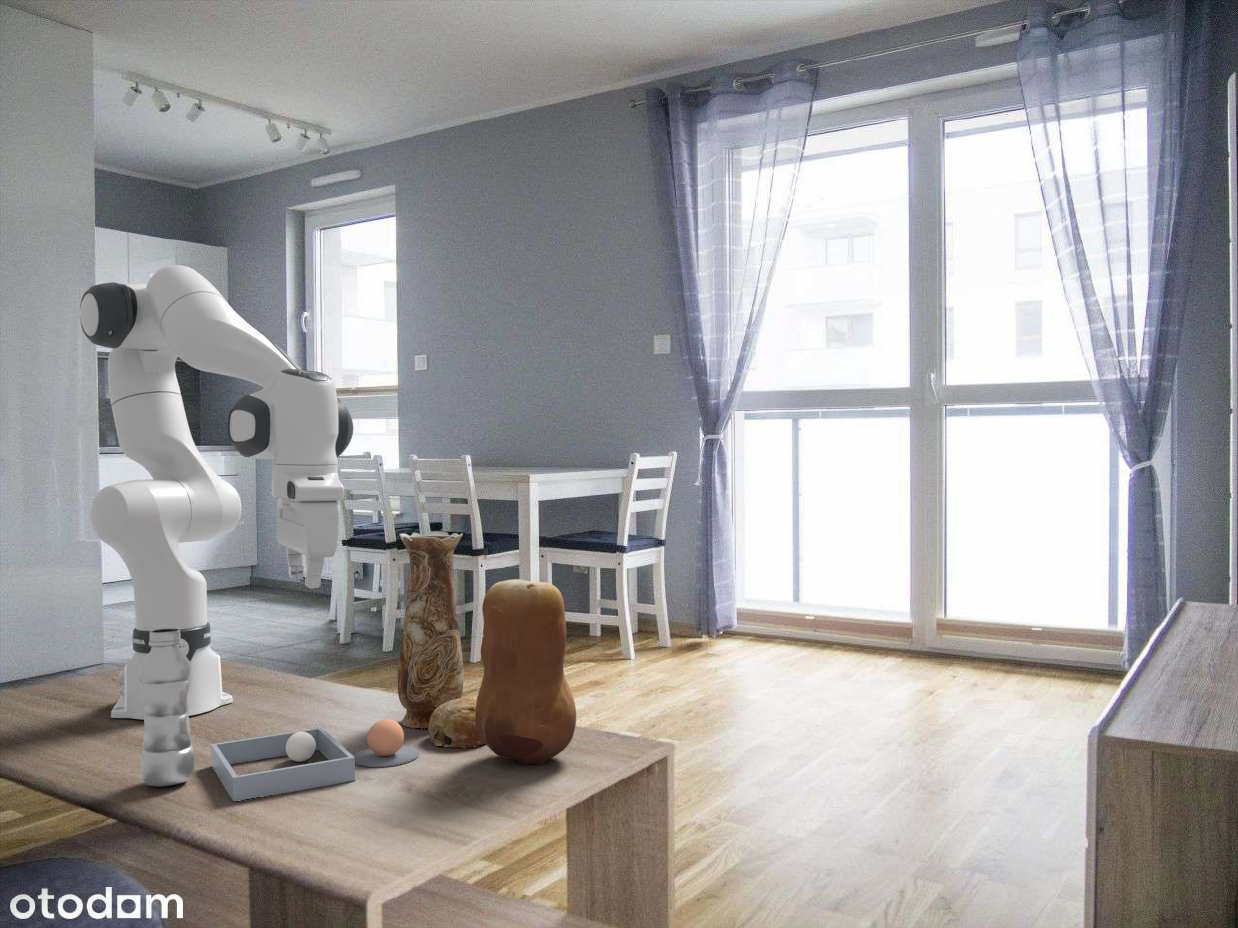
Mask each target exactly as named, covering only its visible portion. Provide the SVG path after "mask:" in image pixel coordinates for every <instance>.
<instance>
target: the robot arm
mask: <svg viewBox="0 0 1238 928" xmlns="http://www.w3.org/2000/svg"><path fill="white" fill-rule="evenodd" d="M79 321H80V326H81V330H82V332H83V334H84V336H85V337H86V338H87V339H88V341H90V343H92V344H93V345H96V346H99V347H102V348H108V349H111V350H110V352H109V355H108V356H107V381H108V382H107V383H108V385H107V386H108V394H109V400H110V406H111V410H112V415H113V420H114V426H115V431H116V435H117V440H118V446H119V448H120V451H121V452H123V454H124V456H126V457H127V458H128V459H130V460H132V461H133V462H136V463H137V464H139V465H140V466H142V467H143V468H144V469H145V470H146V471H147V472H148V473H149V474H150V476H151V478H152V479H132V480H127V481H123V482H118V483H114V484H112V485H107V486H105V487H103V488H102V489H100V490H99V491H98V492H97V494H96V496H95V497H94V499H93V501H92V503H91V506H90V514H89V516H90V523H91V526H92V529H93V531H94V532H95V534H96V536H97V537H98V538H99V539H100V540H101V541H102V542H103V543H105V544H106V545H108V546H109V547H111V548H112V549H113V550H114V551H115V552H116V553H117V555H119V557H120V558H121V560H122V561H123V562H124V564H125V566H126V568H127V570H128V573H129V574H130V577H131V578H130V579H131V584H132V587H133V597H134V600H133V601H134V611H135V613H134V615H135V617H134V619H135V627H134V629H132V637H131V641H132V650H133V651H134V653H133V656H132V657H131V658H130V660H128V661H127V664H125V665H124V669H122V670H121V671H120V672H119V677H118V678H119V679H118V682H119V684H118V685H119V686H124V687H123V688H121V690H120V697H119V698H118V700H117V702H116V703H115V705H114V706H113V708H112V709H111V712H110V718H112V719H114V718H115V719H135V720H144V712H143V700H142V695H141V689H140V684H139V682H140V681H139V676H138V672H139V669H140V666H141V664H142V663H143V661H144V659H145V658H146V656H147V655H148V654H149V652H150V651H151V648H152V646H149V642H150V631H152V630H156V629H163V628H178V629H180V639H181V644H179V648H180V650H181V651H182V652H183V653H184V654H185V655H186V657H187V658H188V660H189V661H190V663H191V666H192V676H191V678H192V679H191V687H190V695H189V709H188V712H189V717H190V716H195V715H199V714H203V713H206V712H210V711H212V710H214V709H216V708H218V707H221V706H224V705H227V704H230V703H233V702H234V700H233V695H231V694H229V693H226V692H224V691H223V684H222V683H223V682H222V681H223V679H222V668H221V667H222V666H221V656H220V655H219V654H218V653H216V652H215V651H214V650H213V649H212V648H211V646H210V644H211V643H212V642H211V639H212V638H211V636H212V629H211V624H210V623H209V622H208V595H207V593H208V591H207V590H208V589H207V588H208V585H207V580H206V579H205V577H204V575H203V574H202V573H201V572H200V571H199V570H198V569H195V568H194V567H192V566H189V565H187V564H186V562H185V560H184V559H183V558H182V556H181V551H180V547H179V544H181V543H190V542H202V541H209V540H212V539H215V538H218V537H221V536H224V535H227V534H229V533H231V532H232V531H234V530H235V528H236V527H237V526H238V524H239V522H240V519H241V516H242V511H243V509H242V508H243V507H242V501H241V496H240V495H239V493H238V491H237V489H236V488H235V487H234V486H233V485H232V484H231V483H229V482H228V481H226V480H225V479H223V478H222V477H220V476H219V474H217V473H216V472H215V471H214V470H213V469H212V468H211V467H210V465H209V464H208V463H207V461H206V460H205V458H204V457H203V456H202V454H201V452H200V451H199V450H198V448H197V446H196V444H195V441H194V440H193V437H192V433H191V431H190V426H189V421H188V418H187V415H186V411H185V405H184V401H183V396H182V394H181V393H182V392H181V388H180V385H179V382H178V377H177V374H176V366H175V365H176V361H177V359H178V358H180V360H181V361H183V362H184V363H186V365H188V366H190V367H192V368H193V369H196V370H199V371H202V372H206V373H211V374H216V375H217V374H218V375H222V376H227V377H232V378H233V377H234V378H235V379H241V380H244V381H248V382H251V383H252V384H253V383H254V384H256V385H259V386H260V387H262V389H261V390H258V391H255V392H254V393H251V394H245V395H243V396H241V397H240V398H239V399H238V400H237V401H236V402H235V403H234V404H233V406H232V407H231V409H230V411H229V414H228V417H227V434H228V438H229V441H230V443H231V445H232V446H233V448H234V449H235V450H236V451H237V452H238V454H240V455H241V456H243V458H244V457H245V458H250V459H254V460H272V467H271V469H272V470H271V473H272V474H271V476H272V477H271V496H272V498H277V499H278V500H277V507H276V525H275V527H276V529H275V534H276V535H275V537H276V541H277V544H280V545H282V546H284V547H285V554H286V560H287V565H288V577H289V578H290V579H293V580H298V579H300V580H301V579H302V578H304V585H305V587H306V588H308V589H318V588H320V587H321V584H322V581H321V580H322V573H323V569H324V565H325V558H332V557H334V556H335V555H336V552H337V548H338V544H339V543H338V542H339V534H340V533H339V532H340V531H339V530H340V518H341V517H340V516H341V507H340V503H339V502H342V501H343V500H344V498H345V488H344V487H345V486H344V485H343V483H342V481H340V478H339V460H338V457H340V456H341V455H342V454H343V453H344V452H345V451H346V449H347V448H348V447H349V445H350V443H351V441H352V438H353V435H354V422H353V418H352V416H351V413H350V412H349V409H348V408H347V406H346V404H344V402H342V400H341V399H340V398H339V397H338V393H337V389H336V385H335V382H334V379H333V378H332V377H330V376H329V375H328V374H326V373H324V372H319V371H315V370H307V369H302V368H301V367H300V366H299V365H298V364H297V363H296V362H295V361H294V360H293V359H292V358H291V357H290V355H288V354H287V353H286V352H285V351H284V350H283V349H282V348H281V347H280V346H279V345H278V344H276V343H275V342H273V341H272V340H271V339H270V338H268V337H267V336H265V335H263V334H262V333H261V332H259V330H257V329H256V328H254V327H253V326H252V325H251V324H250V323H248V321H246V320H245V319H244V318H243V317H242V316H241V315H239V314H238V313H237V312H236V311H235V310H234V309H233V307H232V306H231V305H230V304H229V302H228V301H227V300H226V299H225V297H224V296H223V295H222V294H221V292H220V291H218V289H217V288H216V287H215V286H214V285H213V284H212V283H211V282H210V281H209V280H208V279H207V278H206V277H205V276H203V275H202V274H200V273H199V272H198V271H197V270H195V269H193V268H192V267H189V266H186V265H179V264H176V265H168V266H165V267H163V268H160V269H159V270H157V271H156V272H155V273H154V274H152V276H151V277H150V279H149V280H148V282H147V283H143V282H142V283H140V282H139V283H138V282H137V283H120V282H119V283H118V282H113V281H112V282H104V283H99V284H95V285H92V286H89V288H88V289H87V290H86V291H85V292H84V294H83V295H82V298H81V300H80V305H79ZM303 556H305V564H306V572H305V573H306V574H304V565H303Z"/></svg>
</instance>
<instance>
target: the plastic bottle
mask: <svg viewBox="0 0 1238 928" xmlns="http://www.w3.org/2000/svg"><path fill="white" fill-rule="evenodd" d="M179 644H181V639H180V629H178V628H163V629H156V630H152V631H150V642H149V646H152V648H151V651H150V652H149V654H148V655H147V656H146V658H145V659H144V661H143V663H142V664H141V666H140V669H139V672H138V676H139V681H140V682H139V684H140V689H141V695H142V700H143V712H144V719H143V720H144V721H143V722H144V727H143V728H144V729H143V741H142V742H143V744H142V751H141V756H140V763H139V769H140V771H139V772H140V775H141V779H142V781H144V783H145V784H146V786H147V785H148V786H151V787H169V786H174V785H178V784H182V783H185V782H187V781H188V780H190V778H191V777H192V775H193V773H194V771H195V763H196V758H195V750H194V748H193V745H192V739H191V738H192V737H191V729H190V719H189V718H190V716H189V712H188V709H189V695H190V687H191V679H192V678H191V676H192V666H191V663H190V661H189V660H188V658H187V657H186V655H185V654H184V653H183V652H182V651H181V650H180V648H179Z"/></svg>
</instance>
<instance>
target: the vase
mask: <svg viewBox="0 0 1238 928" xmlns="http://www.w3.org/2000/svg"><path fill="white" fill-rule="evenodd" d="M463 535H464V534H463V533H460V534H458V533H456V532H455V533H452V534H450V535H449V533H448V532H447V531H444V530H443V531H442V530H441V531H439V530H438V531H437V530H436V531H428V532H426V533H425V534H423V535H422V534H421V533H418V532H413V533H412V534H410V535H409V534H407V533H400V534H399V537H400V540H401V541H402V543H403V545H404V547H405V549H406V551H407V553H408V556H409V575H408V586H407V587H408V588H407V594H406V595H407V596H406V603H405V604H406V605H405V612H404V618H403V626H402V633H401V634H402V635H401V641H400V646H399V647H400V649H399V655H398V662H397V695H398V700H399V702H400V704H401V706H402V707H403V708H404V709H405V710H406V713H405V715H404V717H403V719H402V721H401V725H402V726H404V727H406V728H409V729H415V728H421V729H420V730H426V729H425V728H428V724H429V720H430V717H431V715H432V713H433V712H434V711H435V709H436V708H438V707H439V706H440V705H442V704H444V703H446V702H448V701H451V700H454V699H459V698H462V695H463V689H464V659H463V657H464V656H463V651H462V644H461V642H462V641H461V634H460V628H459V618H458V613H457V612H458V611H457V610H458V608H457V601H456V592H455V582H454V579H455V578H454V567H453V566H454V552H455V550H456V548H457V546H458V543H459V542H460V540H461V539H462V537H463ZM423 728H424V729H423Z"/></svg>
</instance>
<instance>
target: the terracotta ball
mask: <svg viewBox="0 0 1238 928" xmlns="http://www.w3.org/2000/svg"><path fill="white" fill-rule="evenodd" d="M366 740H367V745H368V747H369V749H371V750H372V751H373V752H374V753H375V754H377V755H380V756H390V755H392V754H394V753H396V752H397V751H398V750H399V749H400V748H401V746H403V743H404V740H405V733H404V730H403V727H402V726H401V725H400V724H399V723H398V722H397V721H395V720H393V719H389V718H386V719H380V720H378V721H376V722H375V723H373V725H371V727H370V728H369V731H368V733H367V739H366Z"/></svg>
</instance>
